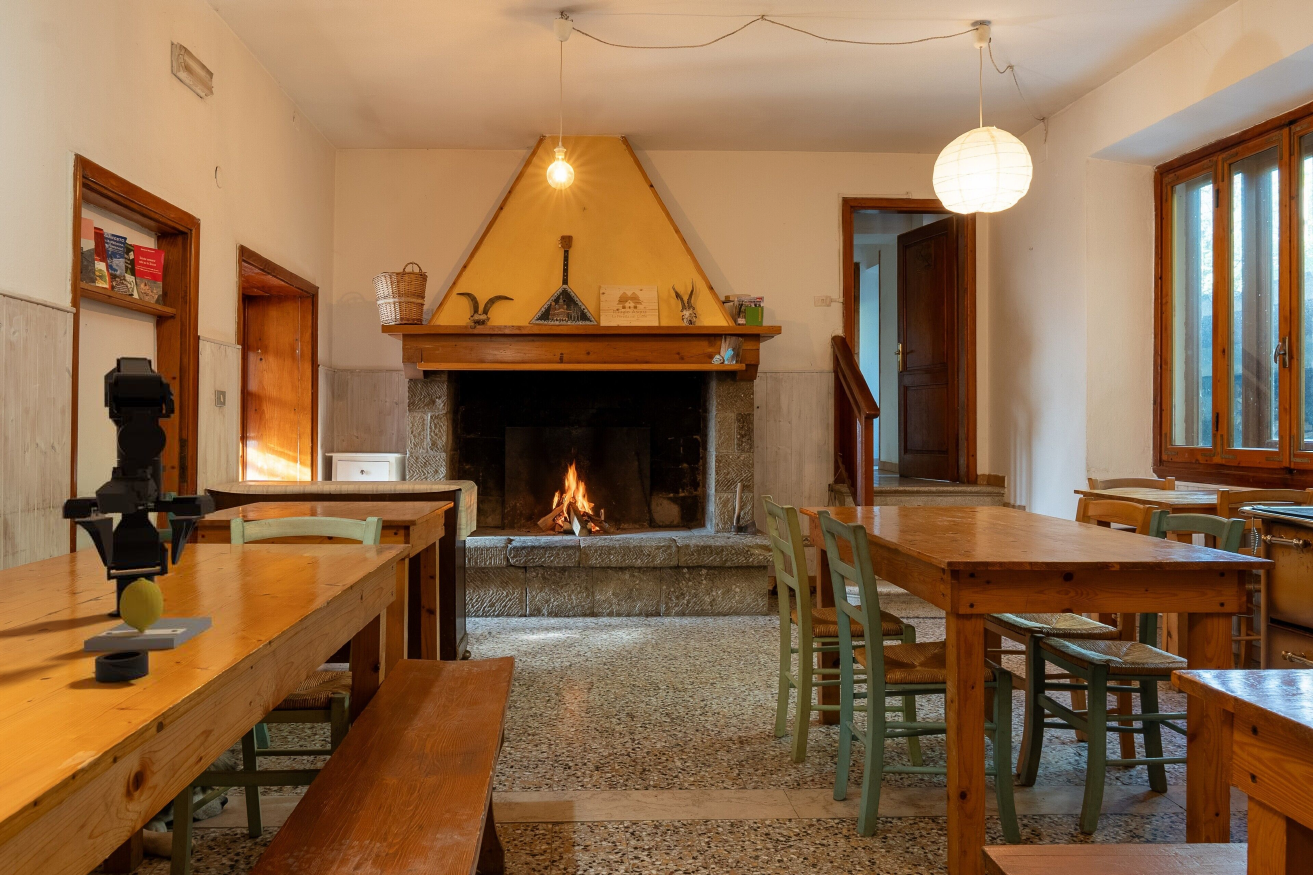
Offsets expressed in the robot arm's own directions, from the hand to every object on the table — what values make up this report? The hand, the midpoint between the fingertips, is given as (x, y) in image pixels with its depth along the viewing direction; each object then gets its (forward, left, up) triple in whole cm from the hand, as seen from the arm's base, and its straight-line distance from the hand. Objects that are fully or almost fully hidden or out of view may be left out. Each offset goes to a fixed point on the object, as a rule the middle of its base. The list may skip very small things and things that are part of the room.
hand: (141, 565), depth 128 cm
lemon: (0, 0, -10) cm, 10 cm away
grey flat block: (-3, 0, -11) cm, 12 cm away
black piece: (+18, +5, -12) cm, 22 cm away
